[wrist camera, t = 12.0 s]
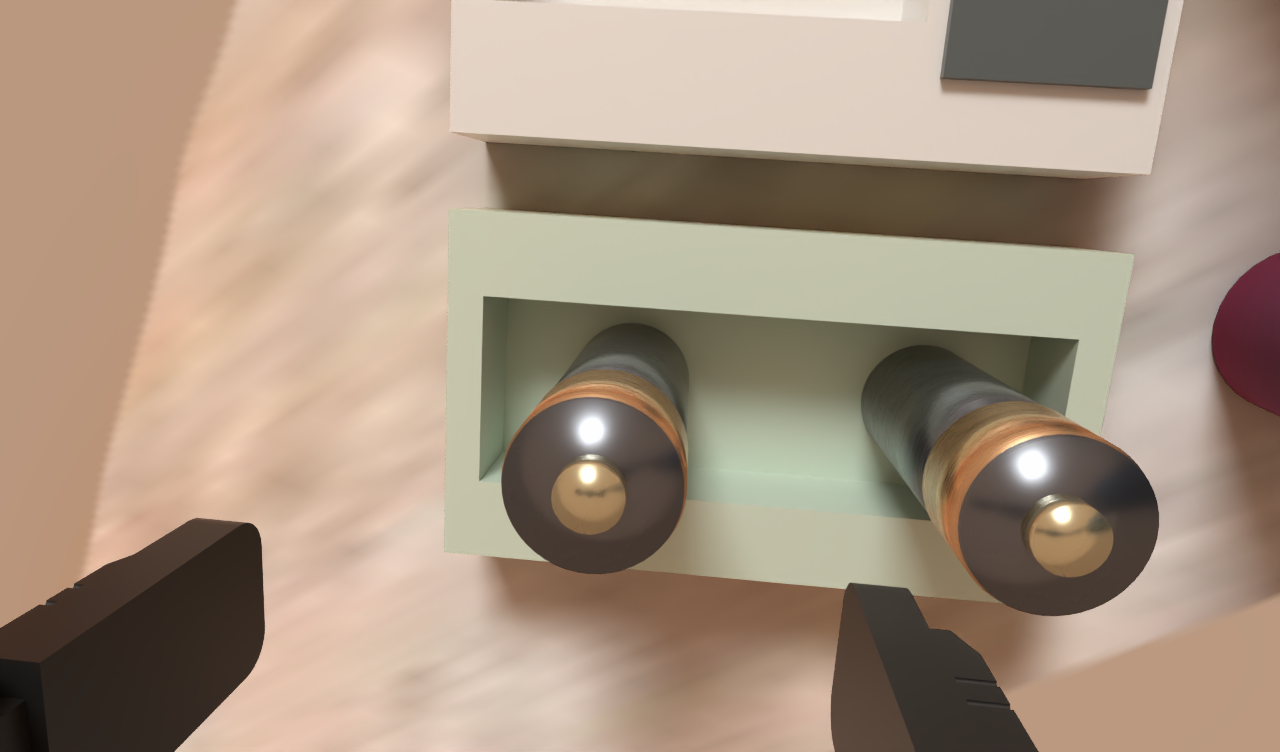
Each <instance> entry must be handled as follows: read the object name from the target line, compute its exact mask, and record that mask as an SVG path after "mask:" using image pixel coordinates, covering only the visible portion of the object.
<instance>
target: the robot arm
mask: <svg viewBox="0 0 1280 752" xmlns="http://www.w3.org/2000/svg"><path fill="white" fill-rule="evenodd" d="M264 633H265V620H264V594H263V569H262V545H261V538H260V534H259V531H258V529H257V528H256V527H255V526H254V525H253V524H251V523H243V522H233V521H223V520H212V519H202V518H195V519H192V520H190V521H188V522H186V523H185V524H183V525H182V526H180V527H178V528H177V529H175V530H173V531H172V532H170V533H168V534H167V535H165V536H164V537H162V538H160V539H159V540H157V541H155V542H154V543H152V544H150V545H149V546H147V547H146V548H144V549H142V550H141V551H139V552H137V553H136V554H134V555H131V556H128V557H126V558H123V559H120V560H117V561H115V562H112V563H109V564H106V565H105V566H103V567H101V568H100V569H98V570H96V571H95V572H93V573H91V574H90V575H88V576H86V577H85V578H83V579H81V580H80V581H78V582H76V583H75V584H74V587H73V588H66V589H65V590H63V591H61V592H60V593H58V594H56V595H55V596H53V597H51V598H50V599H48V600H47V602H46V605H38V606H36V607H35V608H33V609H31V610H30V611H28V612H26V613H25V614H23V615H21V616H20V617H18V618H16V619H15V620H13V621H11V622H10V623H8V624H6V625H5V626H3V627H1V628H0V752H174V751H175V750H176V749H177V748H178V747H179V746H180V745H181V744H182V743H183V742H184V741H185V740H186V739H187V738H188V737H189V736H190V735H191V734H192V733H193V732H194V731H195V730H196V729H197V728H198V727H199V726H200V725H201V724H202V723H203V722H204V721H205V720H206V719H207V718H208V717H209V715H210V714H211V713H212V712H213V711H214V710H215V709H216V708H217V707H218V706H219V705H220V704H221V703H222V702H223V701H224V700H225V699H226V698H227V697H228V696H229V695H230V694H231V693H232V692H233V691H234V690H235V689H236V688H237V687H238V686H239V685H240V684H241V683H242V682H243V681H244V680H245V679H246V678H247V676H248V675H249V674H250V673H251V671H252V670H253V668H254V666H255V664H256V662H257V660H258V658H259V655H260V652H261V649H262V645H263V640H264ZM996 682H997V681H996V680H995V678H994V676H993V675H992V673H991V671H990V670H989V668H988V666H987V665H986V663H985V661H984V660H983V658H982V656H981V655H980V654H979V653H978V652H977V651H975V650H974V649H973V648H972V647H970V646H969V645H968V644H967V643H965V642H964V641H963V640H961V639H960V638H959V637H958V636H956V635H955V634H954V633H953V632H951V631H949V630H939V629H929V627H928V625H927V623H926V621H925V619H924V617H923V615H922V613H921V611H920V609H919V607H918V605H917V603H916V601H915V600H914V598H913V596H912V594H911V592H910V590H909V589H908V588H901V587H891V586H881V585H871V584H860V583H849V584H848V586H847V588H846V591H845V595H844V600H843V607H842V615H841V623H840V631H839V639H838V646H837V654H836V662H835V670H834V678H833V685H832V695H831V730H832V739H833V745H834V749H835V752H1038V750H1037V748H1036V747H1035V745H1034V743H1033V742H1032V740H1031V739H1030V737H1029V735H1028V733H1027V732H1026V730H1025V729H1024V727H1023V725H1022V723H1021V722H1020V720H1019V718H1018V717H1017V715H1016V713H1015V712H1014V710H1010V703H1009V702H1008V700H1007V698H1006V696H1005V695H1004V693H1003V691H1002V690H1001V688H1000V687H997V685H996Z"/></svg>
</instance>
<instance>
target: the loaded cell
mask: <svg viewBox="0 0 1280 752" xmlns="http://www.w3.org/2000/svg"><path fill="white" fill-rule="evenodd" d="M861 413H862V418H863V421H864V424H865V426H866V428H867V430H868V432H869V433H870V435H871V436H872V438H873V439H874V440H875V442H876V443H877V444H878V446H879V447H880V448H881V450H882V451H883V453H884V454H885V455H886V457H887V458H888V459H889V461H890V462H891V464H892V465H893V466H894V468H895V469H896V470H897V472H898V473H899V474H900V476H901V477H902V479H903V480H904V481H905V483H906V484H907V485H908V487H909V488H910V489H911V491H912V492H913V494H914V495H915V496H916V498H917V499H918V500H919V502H920V503H921V505H922V506H923V507H924V509H925V510H926V511H927V513H928V516H929V517H930V519H931V521H932V523H933V525H934V526H935V528H936V529H937V530H938V532H939V533H940V534H941V536H942V537H943V539H944V540H945V541H946V543H947V544H948V545H949V547H950V548H951V550H952V551H953V552H954V554H955V555H956V557H957V558H958V559H959V561H960V562H961V563H962V565H963V566H964V568H965V569H966V570H967V572H968V573H969V574H970V576H971V577H972V579H973V580H974V581H975V582H976V583H977V584H978V585H979V586H980V587H981V588H982V589H983V590H984V591H985V592H986V593H988V594H989V595H990V596H992V597H993V598H995V599H997V600H998V601H1000V602H1002V603H1004V604H1006V605H1007V606H1009V607H1012V608H1014V609H1017V610H1019V611H1023V612H1026V613H1030V614H1036V615H1042V616H1062V615H1071V614H1076V613H1081V612H1084V611H1087V610H1090V609H1093V608H1095V607H1098V606H1100V605H1102V604H1104V603H1106V602H1108V601H1109V600H1111V599H1113V598H1114V597H1116V596H1117V595H1119V594H1120V593H1121V592H1123V591H1124V590H1125V589H1126V588H1127V587H1128V586H1129V585H1130V584H1131V583H1132V582H1133V581H1134V580H1135V579H1136V578H1137V577H1138V576H1139V574H1140V573H1141V572H1142V571H1143V569H1144V567H1145V566H1146V564H1147V562H1148V561H1149V559H1150V557H1151V554H1152V552H1153V550H1154V547H1155V543H1156V540H1157V535H1158V528H1159V512H1158V505H1157V500H1156V497H1155V494H1154V491H1153V489H1152V487H1151V485H1150V483H1149V481H1148V479H1147V478H1146V476H1145V475H1144V473H1143V472H1142V470H1141V469H1140V467H1139V466H1138V465H1137V464H1136V463H1135V462H1134V460H1133V459H1132V458H1131V457H1130V456H1129V455H1127V454H1126V453H1125V452H1124V451H1122V450H1121V449H1120V448H1118V447H1116V446H1115V445H1113V444H1111V443H1110V442H1108V441H1106V440H1104V439H1103V438H1101V437H1099V436H1098V435H1096V434H1094V433H1092V432H1091V431H1089V430H1087V429H1086V428H1084V427H1082V426H1081V425H1079V424H1077V423H1075V422H1074V421H1072V420H1070V419H1069V418H1067V417H1065V416H1063V415H1062V414H1060V413H1058V412H1057V411H1055V410H1053V409H1050V408H1048V407H1046V406H1043V405H1040V404H1038V403H1037V402H1035V401H1033V400H1032V399H1030V398H1028V397H1027V396H1025V395H1023V394H1022V393H1020V392H1018V391H1017V390H1015V389H1013V388H1011V387H1010V386H1008V385H1006V384H1005V383H1003V382H1001V381H1000V380H998V379H996V378H995V377H993V376H991V375H990V374H988V373H986V372H984V371H983V370H981V369H979V368H978V367H976V366H974V365H973V364H971V363H969V362H968V361H966V360H964V359H963V358H961V357H959V356H957V355H956V354H954V353H952V352H951V351H949V350H946V349H944V348H940V347H937V346H931V345H916V346H910V347H906V348H903V349H900V350H897V351H895V352H894V353H892V354H890V355H888V356H887V357H886V358H884V359H883V360H882V361H881V362H879V363H878V364H877V365H876V367H875V368H874V369H873V370H872V372H871V373H870V375H869V376H868V378H867V380H866V382H865V385H864V388H863V391H862V396H861Z"/></svg>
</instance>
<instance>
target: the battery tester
mask: <svg viewBox="0 0 1280 752" xmlns="http://www.w3.org/2000/svg"><path fill="white" fill-rule="evenodd" d="M1183 2H1184V0H451V74H450V132H452V133H456V134H459V135H463V136H466V137H470V138H473V139H477V140H480V141H484V142H495V143H512V144H528V145H544V146H560V147H576V148H593V149H609V150H625V151H641V152H657V153H674V154H690V155H706V156H722V157H738V158H755V159H771V160H787V161H803V162H819V163H835V164H852V165H868V166H884V167H900V168H916V169H933V170H949V171H965V172H981V173H997V174H1014V175H1030V176H1046V177H1062V178H1078V179H1090V178H1106V177H1122V176H1137V175H1150V174H1151V169H1152V163H1153V158H1154V153H1155V148H1156V143H1157V137H1158V132H1159V127H1160V122H1161V117H1162V111H1163V106H1164V101H1165V96H1166V91H1167V85H1168V80H1169V75H1170V70H1171V65H1172V59H1173V54H1174V49H1175V44H1176V38H1177V33H1178V28H1179V23H1180V18H1181V12H1182V7H1183Z"/></svg>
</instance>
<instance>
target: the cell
mask: <svg viewBox="0 0 1280 752" xmlns="http://www.w3.org/2000/svg"><path fill="white" fill-rule="evenodd" d="M688 396H689V372H688V366H687V363H686V360H685V358H684V355H683V353H682V352H681V350H680V348H679V347H678V346H677V344H676V343H675V342H674V341H673V340H672V339H671V338H670V337H669V336H668V335H666V334H665V333H664V332H662V331H660V330H658V329H656V328H654V327H651V326H648V325H645V324H639V323H624V324H618V325H614V326H611V327H609V328H607V329H605V330H603V331H601V332H600V333H598V334H597V335H596V336H594V337H593V338H592V339H591V340H590V341H589V342H588V344H587V345H586V346H585V348H584V349H583V350H582V352H581V353H580V354H579V355H578V357H577V358H576V359H575V361H574V362H573V363H572V364H571V366H570V367H569V368H568V370H567V371H566V372H565V374H564V375H563V376H562V377H561V379H560V380H559V381H558V383H557V384H556V385H555V387H553V388H552V389H551V390H550V391H549V392H548V393H547V394H546V395H545V396H544V397H543V398H542V400H541V401H540V402H539V403H538V405H537V406H536V407H535V409H534V410H533V411H532V412H531V414H530V415H529V416H528V417H527V419H526V420H525V421H524V423H523V424H522V425H521V426H520V428H519V429H518V430H517V432H516V433H515V434H514V436H513V438H512V440H511V442H510V444H509V446H508V448H507V451H506V453H505V457H504V461H503V465H502V474H501V487H502V497H503V502H504V506H505V509H506V512H507V515H508V517H509V520H510V522H511V524H512V526H513V527H514V529H515V530H516V532H517V533H518V535H519V536H520V537H521V539H522V540H523V541H524V542H525V543H526V544H527V545H528V546H529V547H530V548H531V549H532V550H533V551H534V552H535V553H537V554H538V555H539V556H541V557H542V558H544V559H545V560H547V561H549V562H551V563H552V564H554V565H557V566H559V567H562V568H564V569H567V570H571V571H575V572H580V573H587V574H605V573H613V572H617V571H622V570H625V569H628V568H630V567H633V566H635V565H637V564H639V563H641V562H643V561H644V560H646V559H647V558H649V557H650V556H652V555H653V554H654V553H655V552H656V551H657V550H659V549H660V548H661V547H662V546H663V545H664V543H665V542H666V541H667V540H668V539H669V537H670V536H671V535H672V533H673V532H674V530H675V528H676V527H677V525H678V523H679V521H680V518H681V516H682V513H683V510H684V506H685V501H686V494H687V472H688V440H687V419H688Z"/></svg>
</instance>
